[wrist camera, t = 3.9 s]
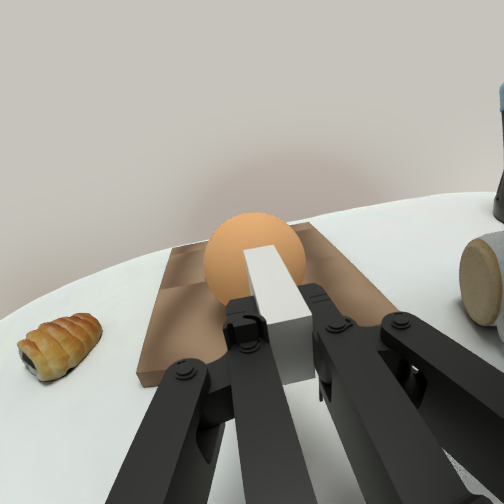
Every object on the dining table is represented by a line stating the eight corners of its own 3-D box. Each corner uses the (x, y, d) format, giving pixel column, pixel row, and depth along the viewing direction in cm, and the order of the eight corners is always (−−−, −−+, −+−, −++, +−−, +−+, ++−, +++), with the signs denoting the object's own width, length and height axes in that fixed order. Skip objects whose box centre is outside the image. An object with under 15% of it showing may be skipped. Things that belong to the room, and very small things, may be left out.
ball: (296, 277, 30) (286, 195, 27) (322, 322, 23) (314, 218, 20) (214, 293, 30) (195, 212, 27) (216, 344, 22) (189, 242, 19)
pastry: (82, 323, 31) (70, 293, 30) (119, 336, 28) (105, 302, 27) (22, 369, 23) (5, 338, 22) (52, 393, 20) (30, 359, 19)
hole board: (309, 231, 46) (308, 221, 45) (402, 331, 22) (404, 316, 21) (174, 257, 45) (172, 248, 44) (143, 387, 21) (136, 373, 20)
